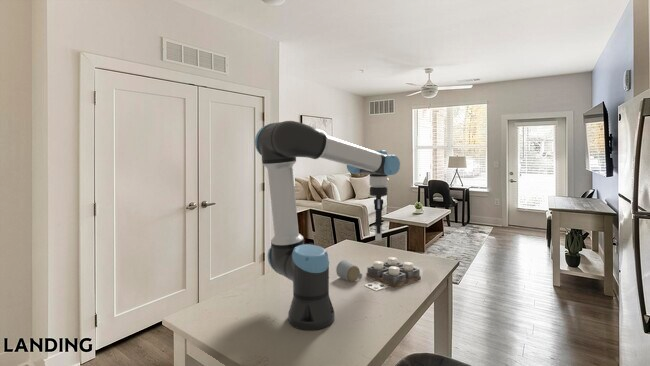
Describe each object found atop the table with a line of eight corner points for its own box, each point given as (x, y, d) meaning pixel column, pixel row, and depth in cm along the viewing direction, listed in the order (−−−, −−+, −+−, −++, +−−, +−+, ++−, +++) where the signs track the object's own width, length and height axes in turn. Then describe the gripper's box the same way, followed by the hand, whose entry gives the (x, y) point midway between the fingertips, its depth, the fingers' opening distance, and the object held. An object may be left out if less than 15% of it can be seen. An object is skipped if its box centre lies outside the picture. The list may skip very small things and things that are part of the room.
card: (376, 291, 131) (376, 289, 131) (363, 285, 136) (363, 284, 136) (388, 286, 135) (388, 285, 135) (376, 281, 140) (376, 280, 140)
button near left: (378, 272, 143) (378, 265, 143) (371, 269, 146) (371, 262, 146) (385, 270, 146) (385, 262, 145) (378, 267, 149) (378, 260, 149)
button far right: (408, 273, 141) (408, 266, 141) (400, 271, 145) (400, 263, 144) (415, 271, 144) (415, 263, 143) (407, 268, 147) (407, 261, 147)
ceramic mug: (347, 284, 138) (348, 266, 137) (335, 278, 144) (335, 261, 144) (366, 279, 144) (366, 261, 144) (354, 273, 151) (354, 257, 150)
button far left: (392, 268, 148) (392, 260, 148) (385, 265, 152) (385, 258, 151) (399, 266, 151) (399, 258, 151) (392, 263, 154) (392, 256, 154)
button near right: (394, 278, 136) (394, 270, 135) (386, 275, 139) (386, 267, 139) (401, 276, 138) (401, 268, 138) (393, 273, 142) (393, 265, 142)
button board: (395, 287, 134) (395, 278, 133) (366, 275, 147) (366, 267, 147) (420, 278, 143) (420, 269, 143) (390, 268, 157) (391, 259, 157)
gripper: (388, 187, 136) (387, 244, 138) (386, 184, 149) (386, 236, 151) (369, 187, 137) (369, 243, 139) (369, 184, 150) (370, 236, 152)
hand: (378, 240), depth 145 cm, fingers closed
